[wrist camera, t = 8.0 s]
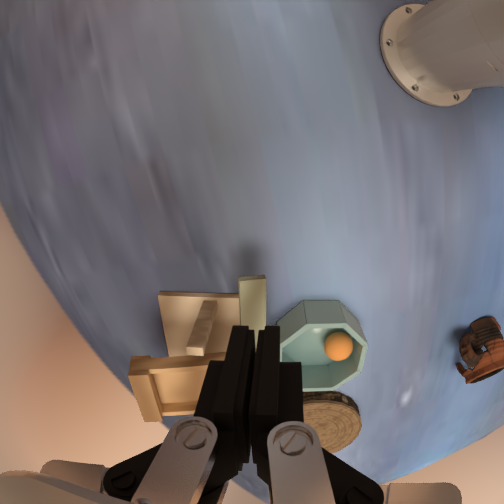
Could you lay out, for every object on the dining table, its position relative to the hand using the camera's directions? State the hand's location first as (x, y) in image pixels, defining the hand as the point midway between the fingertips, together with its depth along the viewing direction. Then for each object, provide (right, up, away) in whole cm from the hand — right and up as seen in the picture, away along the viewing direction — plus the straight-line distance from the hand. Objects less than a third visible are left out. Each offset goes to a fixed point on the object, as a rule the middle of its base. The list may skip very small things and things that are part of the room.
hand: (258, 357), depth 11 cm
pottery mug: (+34, -10, +28) cm, 45 cm away
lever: (-6, -6, +20) cm, 22 cm away
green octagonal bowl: (+8, -7, +28) cm, 30 cm away
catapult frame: (-5, -7, +29) cm, 30 cm away
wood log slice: (+9, -23, +35) cm, 43 cm away
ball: (+10, -8, +25) cm, 29 cm away
